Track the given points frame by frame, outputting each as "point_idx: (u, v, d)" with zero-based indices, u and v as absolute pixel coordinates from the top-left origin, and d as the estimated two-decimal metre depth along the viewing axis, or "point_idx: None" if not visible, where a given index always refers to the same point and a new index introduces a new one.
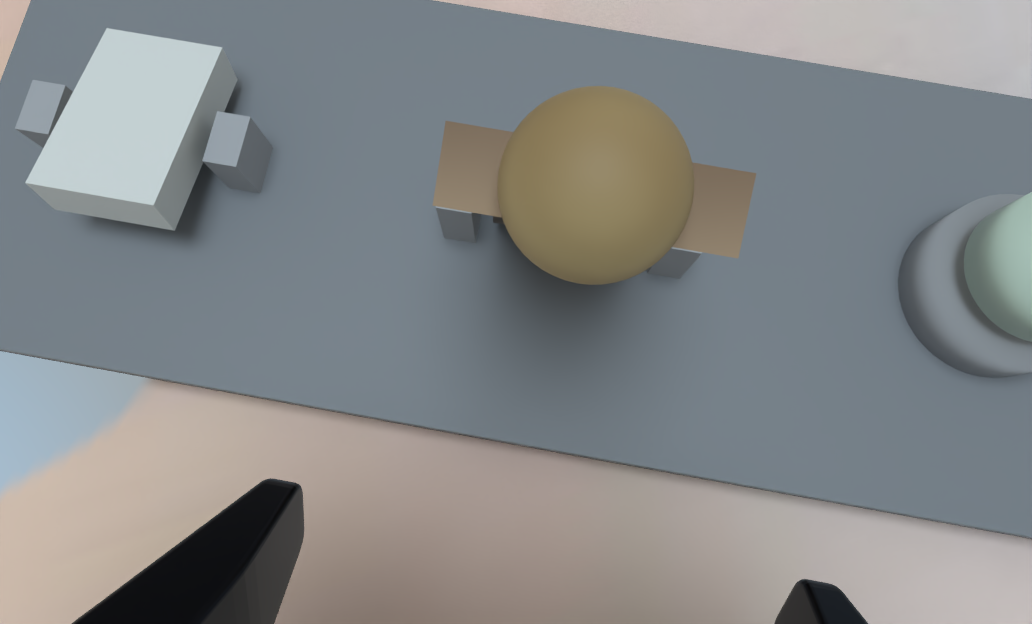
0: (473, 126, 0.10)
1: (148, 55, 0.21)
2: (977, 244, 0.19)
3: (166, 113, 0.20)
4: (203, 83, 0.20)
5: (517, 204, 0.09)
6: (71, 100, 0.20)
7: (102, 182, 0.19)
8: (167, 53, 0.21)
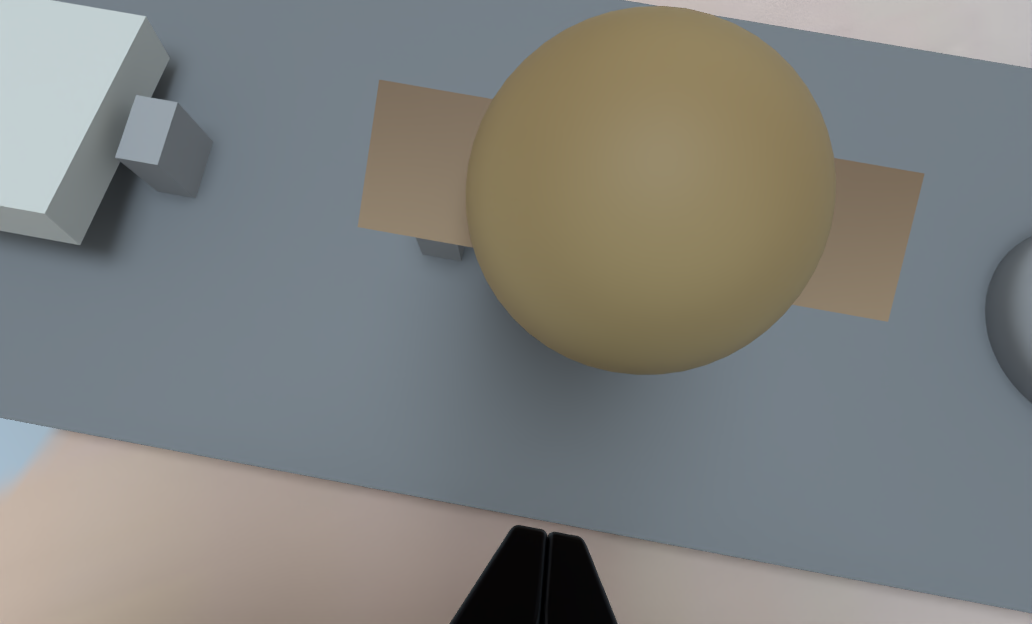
0: (430, 91, 0.06)
1: (52, 25, 0.17)
2: None
3: (69, 97, 0.16)
4: (118, 59, 0.16)
5: (500, 231, 0.04)
6: None
7: None
8: (76, 22, 0.17)
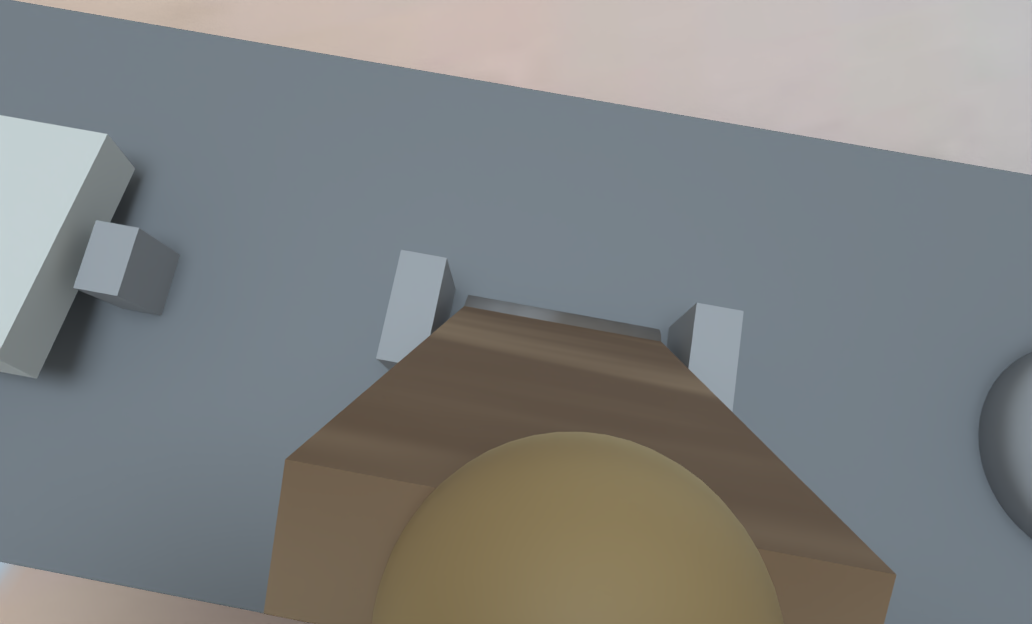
0: (345, 461, 0.05)
1: (9, 145, 0.16)
2: None
3: (25, 225, 0.15)
4: (78, 183, 0.16)
5: None
6: None
7: None
8: (35, 142, 0.16)
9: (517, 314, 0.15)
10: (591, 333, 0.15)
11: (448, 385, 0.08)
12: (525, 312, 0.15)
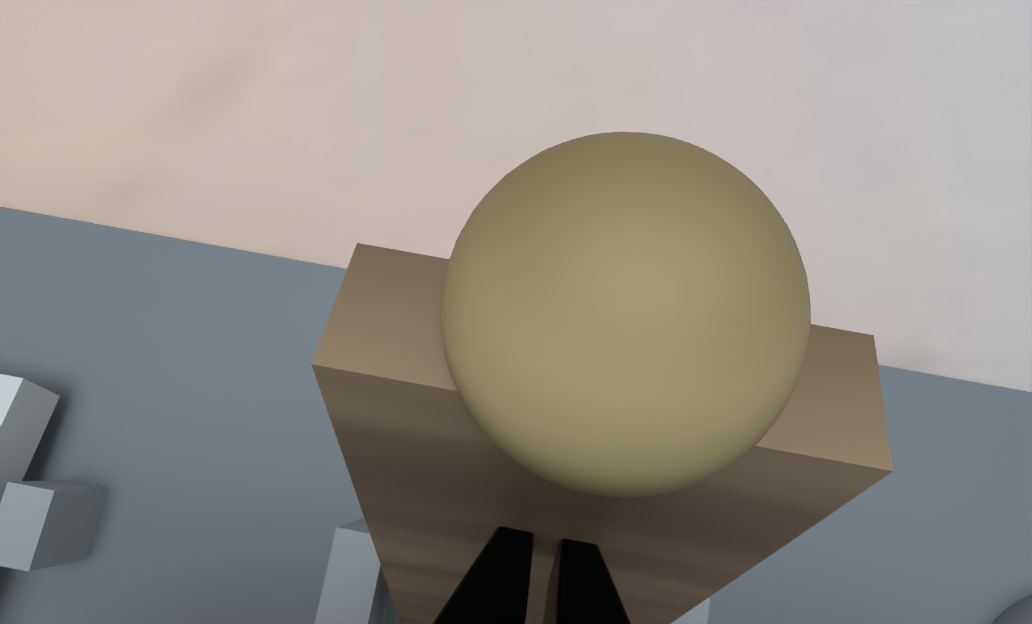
0: (402, 262, 0.06)
1: None
2: None
3: None
4: None
5: (486, 272, 0.04)
6: None
7: None
8: None
9: None
10: None
11: None
12: None
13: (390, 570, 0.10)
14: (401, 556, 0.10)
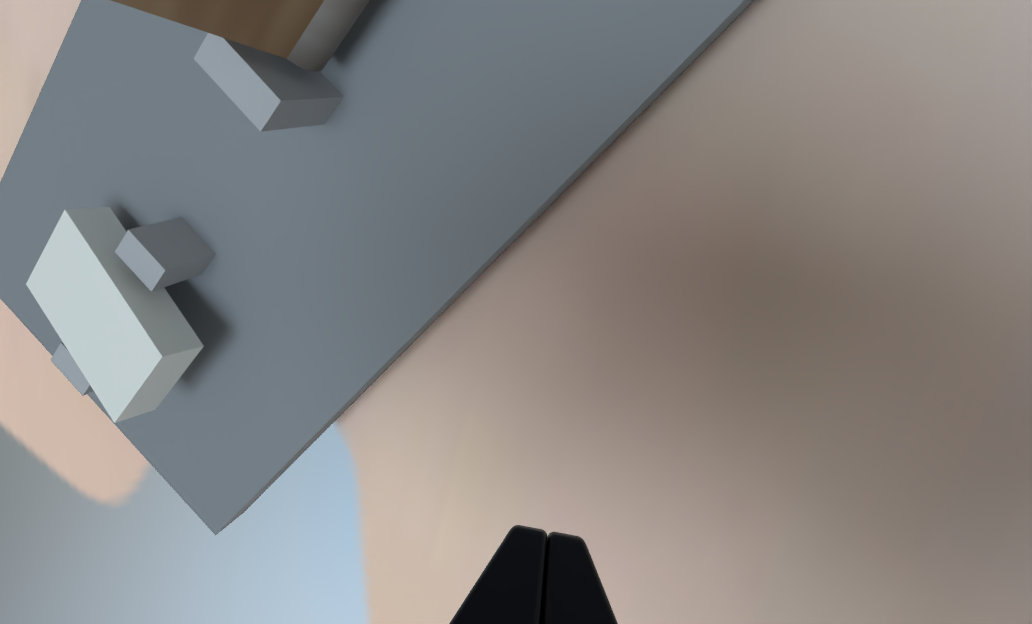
0: None
1: (54, 270, 0.22)
2: None
3: (100, 292, 0.21)
4: (87, 247, 0.21)
5: None
6: (70, 349, 0.22)
7: (133, 376, 0.21)
8: (56, 255, 0.21)
9: None
10: None
11: None
12: None
13: None
14: None
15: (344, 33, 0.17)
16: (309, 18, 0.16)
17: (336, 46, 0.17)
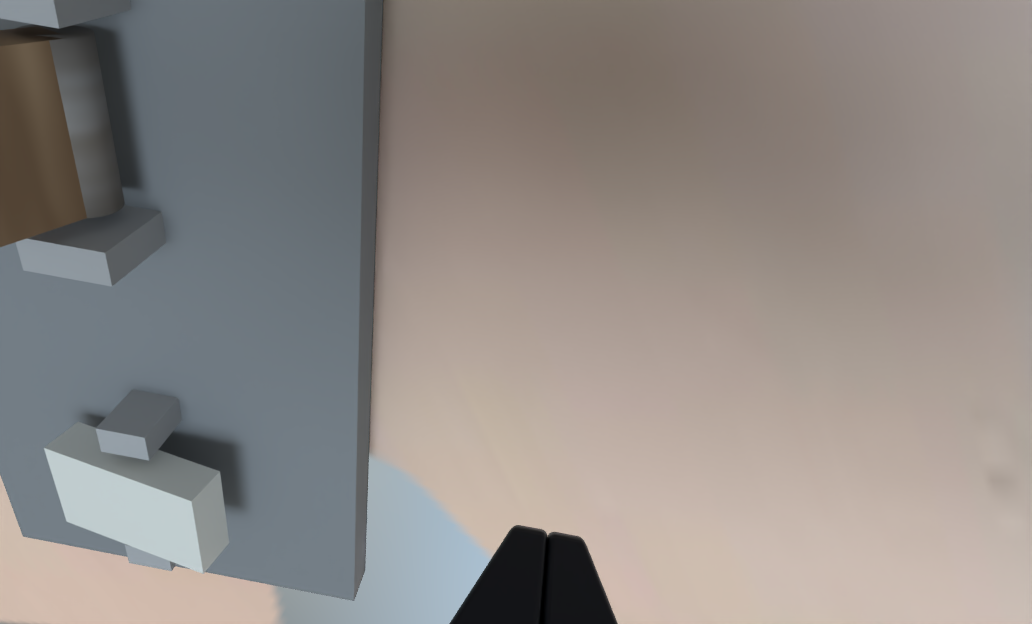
0: None
1: (75, 497, 0.24)
2: None
3: (115, 488, 0.23)
4: (80, 462, 0.23)
5: None
6: (133, 544, 0.24)
7: (186, 530, 0.23)
8: (67, 485, 0.24)
9: None
10: None
11: None
12: None
13: None
14: None
15: (113, 165, 0.18)
16: (74, 176, 0.17)
17: (117, 179, 0.18)
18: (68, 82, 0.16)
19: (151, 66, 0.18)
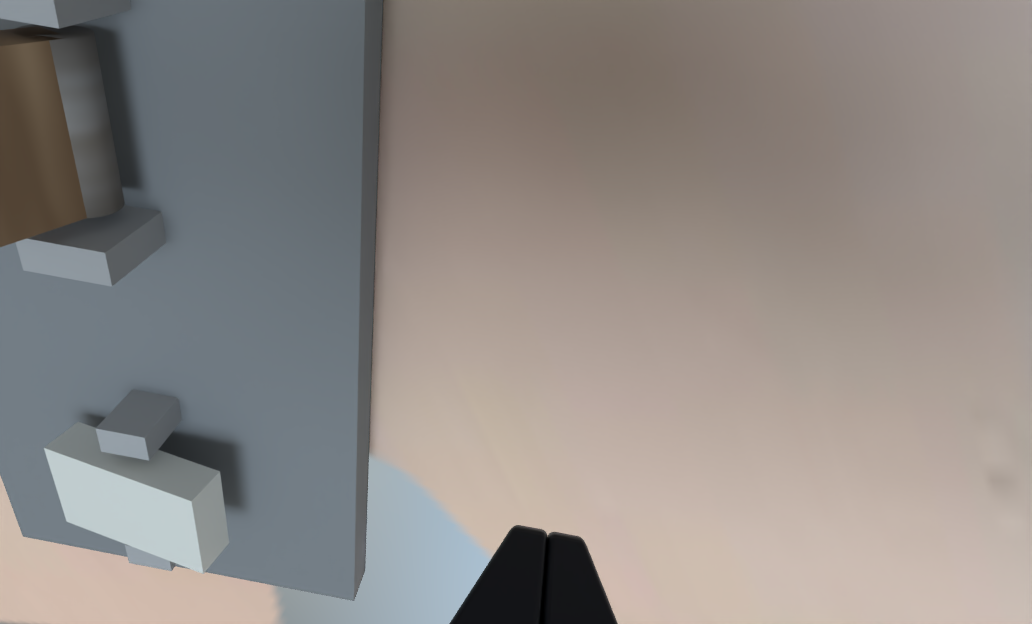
0: None
1: (75, 497, 0.24)
2: None
3: (115, 488, 0.23)
4: (80, 462, 0.23)
5: None
6: (133, 544, 0.24)
7: (186, 530, 0.23)
8: (67, 485, 0.24)
9: None
10: None
11: None
12: None
13: None
14: None
15: (113, 165, 0.18)
16: (74, 176, 0.17)
17: (117, 179, 0.18)
18: (68, 82, 0.16)
19: (151, 66, 0.18)
